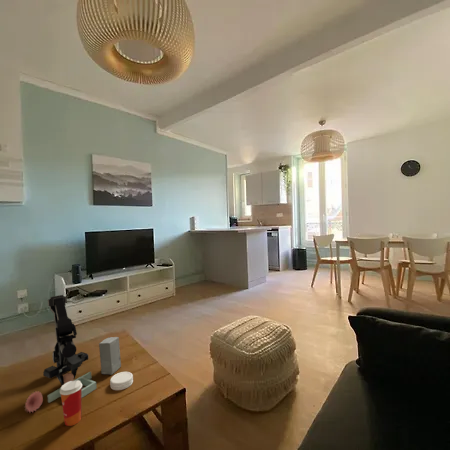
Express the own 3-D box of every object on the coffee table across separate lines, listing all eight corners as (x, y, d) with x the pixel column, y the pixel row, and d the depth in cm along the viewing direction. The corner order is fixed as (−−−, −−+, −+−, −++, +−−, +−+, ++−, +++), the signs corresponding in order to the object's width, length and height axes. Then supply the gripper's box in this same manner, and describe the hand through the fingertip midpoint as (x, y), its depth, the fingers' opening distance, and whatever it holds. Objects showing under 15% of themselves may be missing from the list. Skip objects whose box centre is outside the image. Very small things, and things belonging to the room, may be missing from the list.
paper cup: (67, 414, 110) (65, 380, 109) (87, 412, 110) (85, 378, 110) (57, 429, 102) (55, 392, 102) (78, 427, 103) (76, 390, 102)
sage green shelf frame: (47, 402, 118) (47, 395, 118) (90, 377, 136) (89, 371, 136) (63, 409, 113) (62, 402, 113) (105, 383, 130) (104, 376, 130)
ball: (60, 385, 130) (59, 375, 130) (70, 379, 134) (69, 369, 134) (66, 388, 128) (65, 377, 128) (76, 382, 132) (75, 372, 132)
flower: (41, 386, 120) (32, 386, 115) (52, 398, 117) (43, 398, 112) (27, 405, 117) (16, 405, 112) (37, 417, 114) (27, 418, 109)
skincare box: (112, 375, 137) (110, 343, 136) (99, 374, 138) (97, 343, 138) (122, 366, 145) (120, 336, 145) (109, 365, 146) (108, 335, 146)
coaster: (137, 380, 131) (137, 373, 131) (121, 393, 122) (121, 385, 122) (122, 376, 136) (121, 369, 136) (105, 388, 127) (105, 380, 127)
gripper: (55, 362, 119) (58, 398, 119) (94, 344, 135) (96, 375, 135) (41, 357, 124) (43, 391, 124) (80, 340, 140) (82, 370, 141)
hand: (68, 381), depth 131 cm, fingers closed on ball, 5 cm apart
